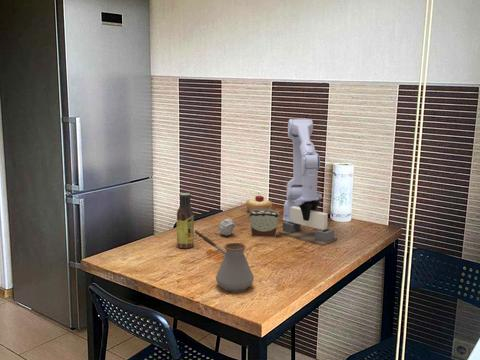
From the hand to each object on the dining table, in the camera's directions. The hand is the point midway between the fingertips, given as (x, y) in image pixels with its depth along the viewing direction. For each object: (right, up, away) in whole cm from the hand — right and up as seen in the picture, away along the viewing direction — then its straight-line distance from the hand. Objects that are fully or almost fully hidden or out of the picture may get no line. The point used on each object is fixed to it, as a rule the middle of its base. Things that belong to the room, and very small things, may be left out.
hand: (308, 219), depth 208 cm
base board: (0, -7, +1) cm, 7 cm away
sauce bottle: (-47, -9, -11) cm, 49 cm away
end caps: (0, -7, +1) cm, 7 cm away
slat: (0, -2, 0) cm, 2 cm away
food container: (-17, -7, +4) cm, 19 cm away
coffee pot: (-32, -16, -44) cm, 57 cm away
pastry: (-18, +1, +37) cm, 41 cm away
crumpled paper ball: (-32, -7, +2) cm, 33 cm away
